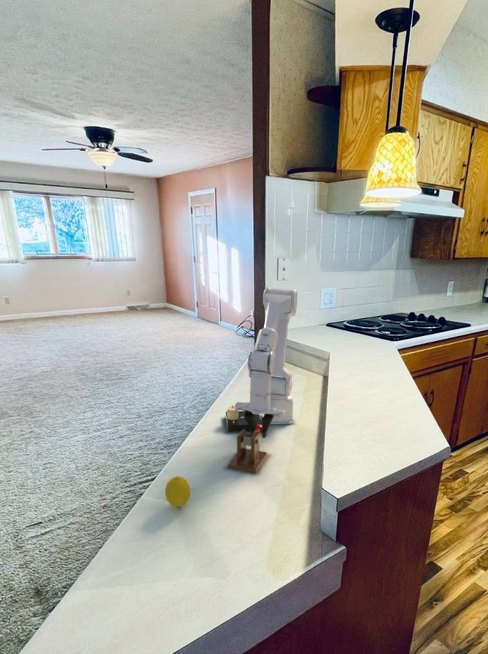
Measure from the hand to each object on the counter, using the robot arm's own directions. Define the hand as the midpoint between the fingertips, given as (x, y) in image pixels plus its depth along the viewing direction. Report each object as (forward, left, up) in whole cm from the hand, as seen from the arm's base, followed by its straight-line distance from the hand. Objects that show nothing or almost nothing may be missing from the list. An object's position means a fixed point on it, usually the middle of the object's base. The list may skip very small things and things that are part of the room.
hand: (258, 435), depth 121 cm
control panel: (+3, -16, -4) cm, 17 cm away
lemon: (+22, +26, -4) cm, 34 cm away
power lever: (+2, +4, +1) cm, 5 cm away
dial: (+6, -16, -1) cm, 17 cm away
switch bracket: (+4, +8, -4) cm, 10 cm away
